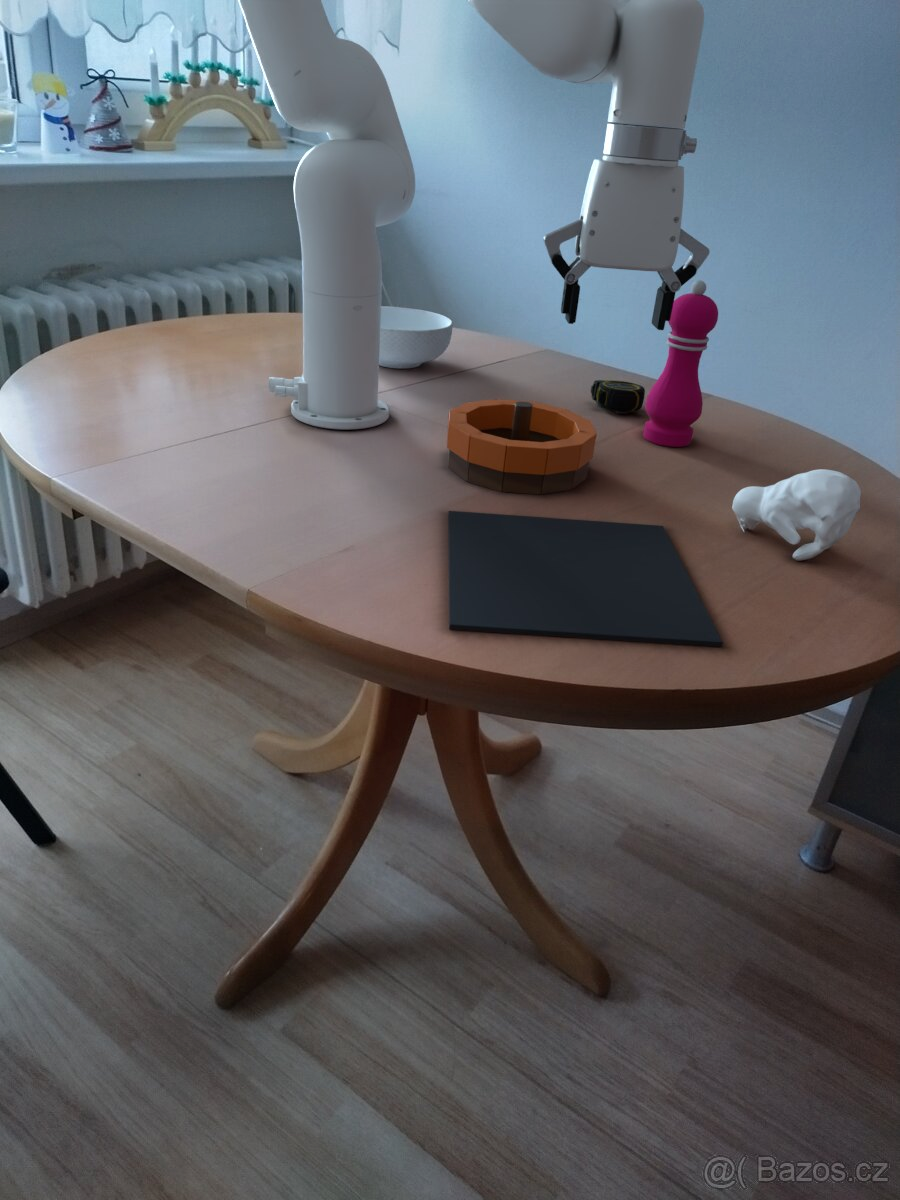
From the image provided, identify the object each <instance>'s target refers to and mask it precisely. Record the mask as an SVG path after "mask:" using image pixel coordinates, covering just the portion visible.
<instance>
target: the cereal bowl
mask: <svg viewBox="0 0 900 1200" xmlns="http://www.w3.org/2000/svg"><path fill="white" fill-rule="evenodd" d="M453 325H454V323H453V321H452V319H450V318H449V317H448V316H445V315H442V314H440V313H436V312H433V311H430V310H429V311H428V310H422V309H417V308H409V307H401V306H390V305H389V306H387V305H386V306H385V305H381V324H380V351H379V367H380V366H381V367H384V368H390V369H404V370H405V369H414V368H418V367H420V366H421V365H422V364H423V363H427V362H430V361H433V360H436V359H437V358H439V357H440V356H441V355H443V353H445V351H446V350H447V349H448V347H449V345H450V344H451V339H452V335H453Z"/></svg>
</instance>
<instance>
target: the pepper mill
mask: <svg viewBox="0 0 900 1200" xmlns="http://www.w3.org/2000/svg"><path fill="white" fill-rule="evenodd" d="M690 291H691V292H689V293H685V294H682V295H680V296H678V297H677V298H674V303H673V308H672V313H671V318H670V321H667V323H668V325H669V326H670V328H671V331H669V332H668V333H667V336H668V338H667V340H666V344H667V346H668V354H667V359H666V362H665V366H664V368H663V370H662V372H661V373H660V375H659V377H658V378H657V380H656V381H655V383H654V384H653V386H652V387H651V388H650V390H649V393H648V394H647V397H646V400H645V404H644V409H645V412H646V414H647V416H648V418H649V420H646V422H645V424H644V428H643V433H642V434H643V438H644V439H645V440H646V441H648V442H650V443H652V444H655V445H658V446H662V447H670V448H683V447H686V446H687V447H688V446H690V444H691V443H692V438H693V434H694V429H693V427H692V425H693V424H694V423H696V422H697V421H698V420H699V419H700V417H701V415H702V413H703V402H704V401H703V395H702V390H701V385H700V380H699V367H700V361H701V358H702V355H703V352H704V351H706V350H707V349H708V342H709V341H710V338H709V336H708V334H709V333H711V331H713V330H714V329H715V327H716V326H717V323H718V320H719V309H718V305H717V304H716V302H715V301H714V299H712V298H711V297H710V296H707V295H706V294H705V293H706V291H707V283H706V282H705V281H704V280H700V279H699V280H695V281H694V282H693V283H692V284H691V287H690Z"/></svg>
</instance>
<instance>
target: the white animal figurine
mask: <svg viewBox="0 0 900 1200" xmlns="http://www.w3.org/2000/svg"><path fill="white" fill-rule="evenodd" d="M861 495H862V491H861V488H860V486H859V484H858V481H856V480H854V479H853V478H851V476H849V475H846V474H845V473H843V472H840V471H836V470H832V469H825V468H824V469H823V468H822V469H820V468H819V469H812V470H809V471H807V472H801V473H797V474H795V475H792V476H790V477H788V478H785V479H782V480H780V481H777V482H776V483H774V484H771V485H767V486H757V485H755V486H754V485H752V486H747V487H744V488H742V489H740V490H739V491H738V492H737V493H736V494H735V495H734V498H733V501H732V506H731V509H732V511H733V513H734V515H735V517H736V519H737V521H738V524H739V527H740V528H741V530H742V531H743V532H745V529H748V530H754V529H755V528H756V527H757V525H758V524H759V525H760V524H761V525H762V523H763V524H765V525H766V526H767V527H769V528H770V529H771V530H774V531H775V532H776V533H777V534H778V535H780V536H781V538H783V539H784V540H785V541H786V542H787V543H788V544H791V545H797V544H799V543H800V541H801V535H800V534H799V533H798V531H801V530H805V529H808V530H810V531H812V532H813V533H814V534H815V537H814V540H813V542H810V543H809V542H808V543H805V544H802V545H800V547H798V548H797V549H796V550H795V551H794V552H793V553H792V559H793V560H795V561H805V560H810V559H813V558H815V557H817V556H818V555H820V554H821V553H823V552H824V551H826V550H828V549H830V548H832V547H833V546H834V545H836V544H838V543H839V541H841V540H842V538H843V537H844V536H845V535H846V534H847V533H849V530H850V528H851V526H852V522H853V521H854V519H855V516H856V515H857V512H859V510H860V508H861V504H860V502H861V501H860V499H861ZM797 530H798V531H797Z"/></svg>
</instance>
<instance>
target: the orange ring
mask: <svg viewBox="0 0 900 1200" xmlns="http://www.w3.org/2000/svg"><path fill="white" fill-rule="evenodd" d="M519 401H520V400H518V399H517V400H516V399H503V398H496V399H485V400H475V401H468V402H465V403H462V404H460V405H458V406H456V407H454V408H451V409H450V410H448V418H447V419H448V420H447V432H446V449H447V450H451V451H452V452H454V453H455V454H457V455H458V456H460V457H461V458H463V459H464V460H466V461H467V462H470V463H473V464H477V465H480V466H484V467H488V468H491V469H495V470H498V471H502V472H503V471H504V472H510V473H523V474H537V475H544V474H545V475H548V474H555V473H561V472H568V471H574V470H578V469H579V468H581V467H582V466H583V465H585V464H586V463H587V462H589V463H590V461H592V460H593V457H594V451H595V447H596V439H597V431H596V429H595V427H594V425H593V423H592V421H591V420H589V419H588V418H585V417H583V416H582V415H580V414H578V413H575V412H573V411H572V410H569V409H567V408H563V407H559V406H554V405H550V404H546V403H542V402H537V401H532V400H531V401H530V400H523V401H524V402H529V403H531V404H532V405H533V408H532V415H531V423H530V430H531V431H535V432H539V433H543V434H546V435H550V436H554V437H556V438H558V439H560V440H555V441H547V442H532V441H519V440H509V439H505V438H501V437H497V436H494V435H490V434H486V433H482V432H481V431H479V430H487V429H496V428H509V429H512V425H513V417H514V409H515V403H516V402H519Z"/></svg>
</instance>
